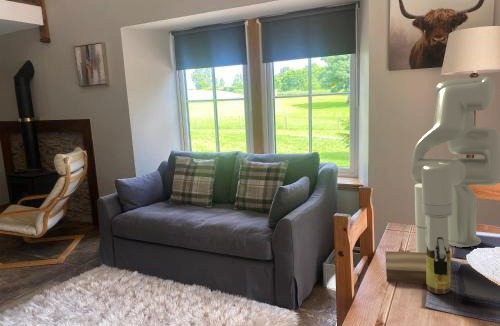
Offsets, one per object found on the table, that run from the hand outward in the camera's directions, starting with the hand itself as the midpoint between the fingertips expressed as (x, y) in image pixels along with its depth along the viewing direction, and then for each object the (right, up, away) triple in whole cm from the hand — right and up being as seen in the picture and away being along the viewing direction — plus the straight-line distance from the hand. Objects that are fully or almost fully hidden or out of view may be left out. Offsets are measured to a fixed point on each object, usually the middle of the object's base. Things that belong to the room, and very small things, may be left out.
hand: (438, 266), depth 107 cm
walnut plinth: (-3, -5, +13) cm, 14 cm away
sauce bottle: (+1, -7, +1) cm, 7 cm away
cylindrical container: (+9, -3, +24) cm, 26 cm away
